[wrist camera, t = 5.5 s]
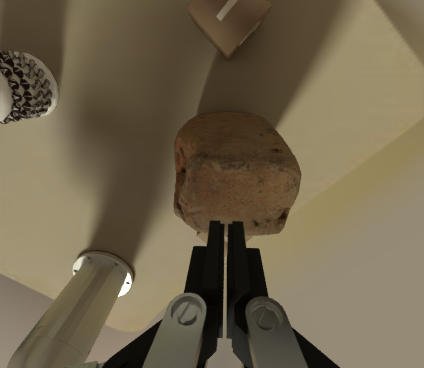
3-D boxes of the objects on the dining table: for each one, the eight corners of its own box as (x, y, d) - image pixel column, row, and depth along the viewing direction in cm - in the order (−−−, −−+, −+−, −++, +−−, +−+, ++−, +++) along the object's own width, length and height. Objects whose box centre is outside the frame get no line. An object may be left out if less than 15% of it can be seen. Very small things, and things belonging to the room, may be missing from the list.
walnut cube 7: (228, 61, 29) (228, 57, 23) (194, 21, 27) (185, 7, 22) (265, 20, 27) (275, 4, 21) (230, -26, 25) (230, -56, 19)
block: (266, 112, 31) (320, 158, 13) (258, 162, 34) (293, 253, 16) (190, 107, 31) (142, 144, 13) (189, 156, 35) (149, 240, 17)
